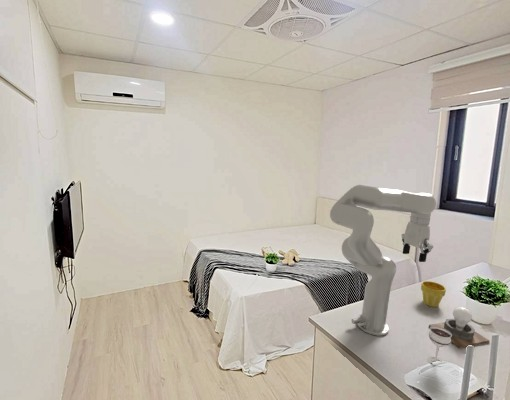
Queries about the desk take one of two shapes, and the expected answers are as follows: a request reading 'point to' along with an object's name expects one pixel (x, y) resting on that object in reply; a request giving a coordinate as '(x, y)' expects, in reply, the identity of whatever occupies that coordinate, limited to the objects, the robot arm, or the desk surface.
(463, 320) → the lightbulb
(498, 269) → the desk surface
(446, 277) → the desk surface
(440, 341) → the wineglass
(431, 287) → the plant pot
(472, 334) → the bulb holder
